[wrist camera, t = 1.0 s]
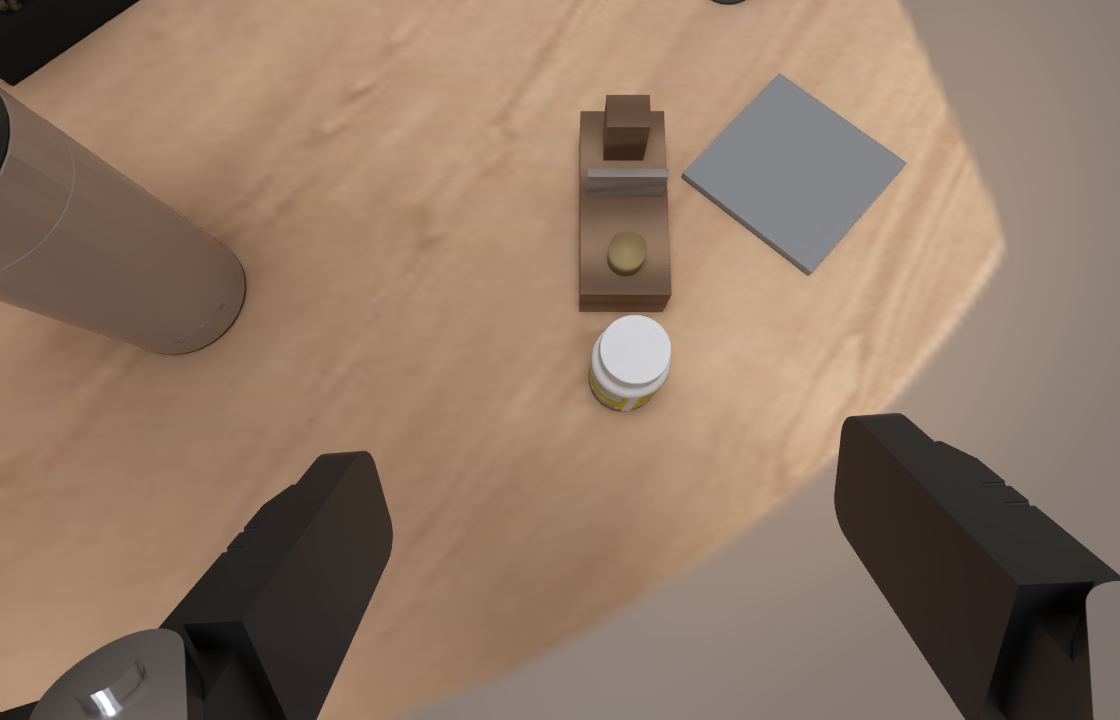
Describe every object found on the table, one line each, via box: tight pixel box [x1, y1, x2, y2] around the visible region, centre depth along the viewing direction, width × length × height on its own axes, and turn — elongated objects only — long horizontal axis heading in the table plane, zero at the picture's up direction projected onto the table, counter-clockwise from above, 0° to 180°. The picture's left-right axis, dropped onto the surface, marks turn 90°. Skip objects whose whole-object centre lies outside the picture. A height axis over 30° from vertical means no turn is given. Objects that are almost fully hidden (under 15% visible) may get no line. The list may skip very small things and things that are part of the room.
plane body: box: [579, 95, 671, 312], centre depth 37 cm, size 14×6×7 cm, turn 179°
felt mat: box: [681, 73, 906, 275], centre depth 41 cm, size 12×12×1 cm
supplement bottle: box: [589, 315, 671, 411], centre depth 34 cm, size 5×5×8 cm
